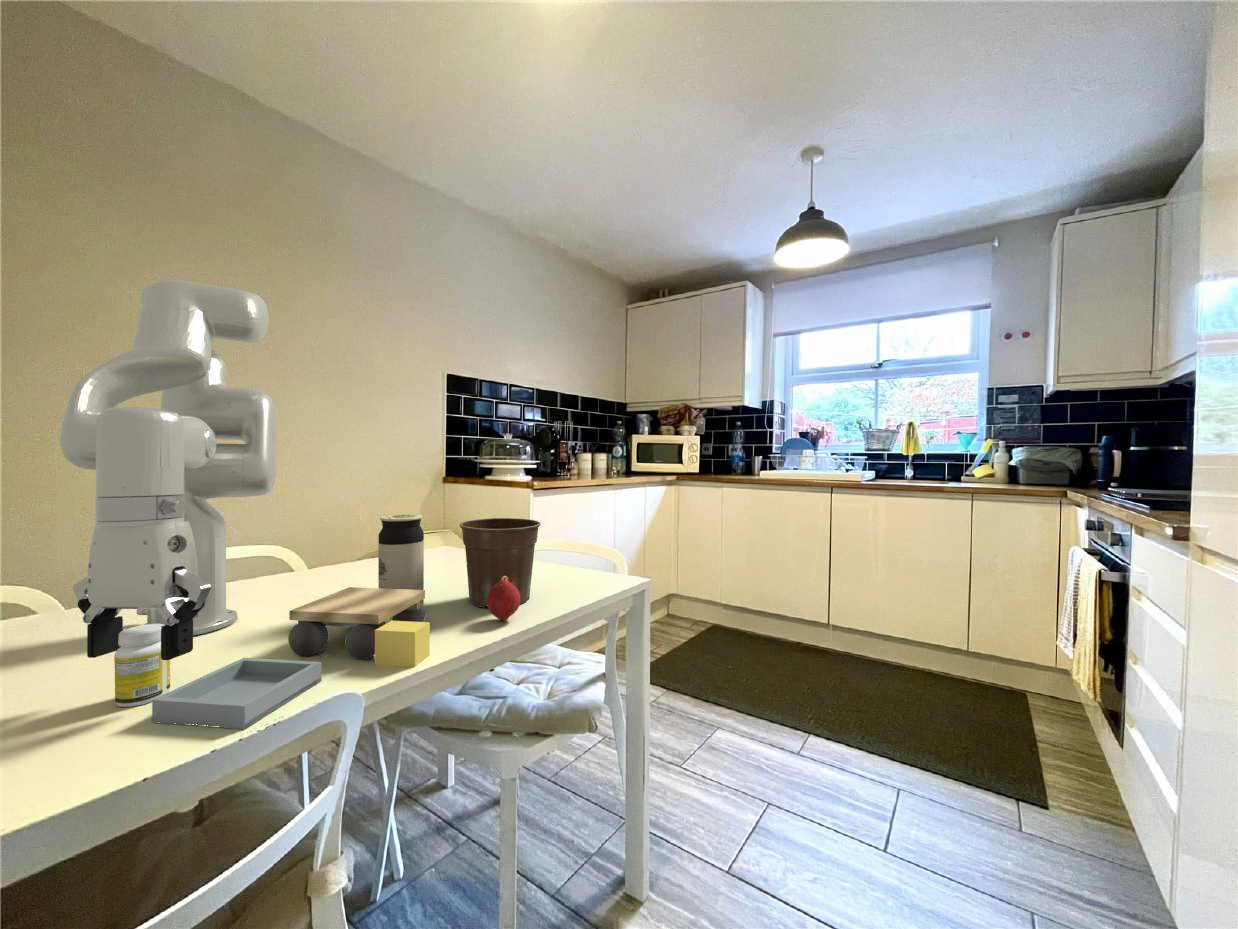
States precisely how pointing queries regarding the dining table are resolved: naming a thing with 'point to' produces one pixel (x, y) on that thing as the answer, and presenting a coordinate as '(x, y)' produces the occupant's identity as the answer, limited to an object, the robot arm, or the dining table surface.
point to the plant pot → (499, 555)
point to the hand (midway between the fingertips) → (141, 654)
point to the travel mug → (401, 553)
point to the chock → (402, 643)
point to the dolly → (353, 618)
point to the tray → (237, 693)
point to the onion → (503, 599)
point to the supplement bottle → (140, 666)
